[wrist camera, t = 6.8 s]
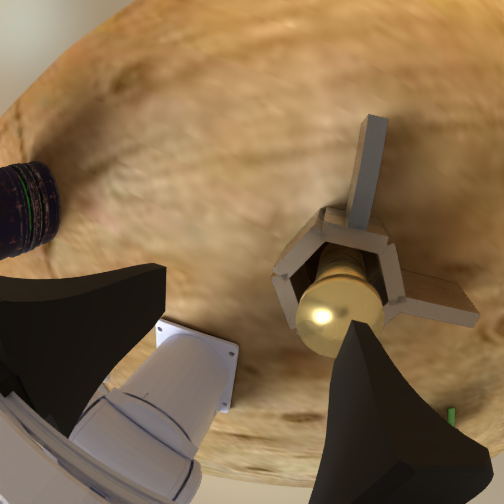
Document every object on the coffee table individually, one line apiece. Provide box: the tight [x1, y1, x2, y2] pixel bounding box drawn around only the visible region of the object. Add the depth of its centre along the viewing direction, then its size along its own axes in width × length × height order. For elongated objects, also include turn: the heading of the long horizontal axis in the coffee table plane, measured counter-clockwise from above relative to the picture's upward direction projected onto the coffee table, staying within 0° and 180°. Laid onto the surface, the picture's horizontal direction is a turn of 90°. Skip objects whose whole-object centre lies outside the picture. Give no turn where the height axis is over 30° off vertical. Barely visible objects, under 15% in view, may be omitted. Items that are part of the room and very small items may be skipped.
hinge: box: [271, 114, 480, 335], centre depth 16 cm, size 13×13×4 cm
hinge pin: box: [296, 243, 385, 358], centre depth 16 cm, size 4×4×8 cm
